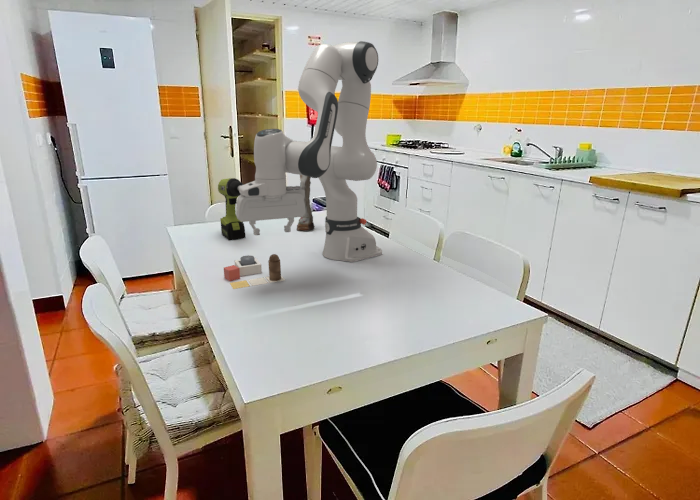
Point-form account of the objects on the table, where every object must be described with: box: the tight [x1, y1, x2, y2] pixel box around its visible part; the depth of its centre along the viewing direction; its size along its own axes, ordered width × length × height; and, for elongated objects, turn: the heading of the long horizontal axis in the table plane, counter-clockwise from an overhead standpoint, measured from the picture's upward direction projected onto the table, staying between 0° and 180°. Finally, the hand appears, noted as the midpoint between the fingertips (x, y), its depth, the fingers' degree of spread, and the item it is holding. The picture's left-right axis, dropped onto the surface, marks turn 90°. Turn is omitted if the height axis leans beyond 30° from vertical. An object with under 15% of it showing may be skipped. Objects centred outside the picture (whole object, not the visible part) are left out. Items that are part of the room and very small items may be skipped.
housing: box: [233, 257, 263, 277], centre depth 137 cm, size 7×7×3 cm
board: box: [229, 275, 286, 290], centre depth 134 cm, size 17×20×1 cm
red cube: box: [223, 264, 241, 282], centre depth 131 cm, size 4×4×4 cm
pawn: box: [267, 253, 282, 281], centre depth 130 cm, size 4×4×8 cm
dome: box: [239, 254, 255, 266], centre depth 137 cm, size 4×4×4 cm
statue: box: [296, 175, 315, 232], centre depth 184 cm, size 8×7×30 cm
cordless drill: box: [217, 177, 247, 241], centre depth 170 cm, size 23×7×25 cm, turn 32°
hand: (272, 233), depth 127 cm, fingers open, 8 cm apart
